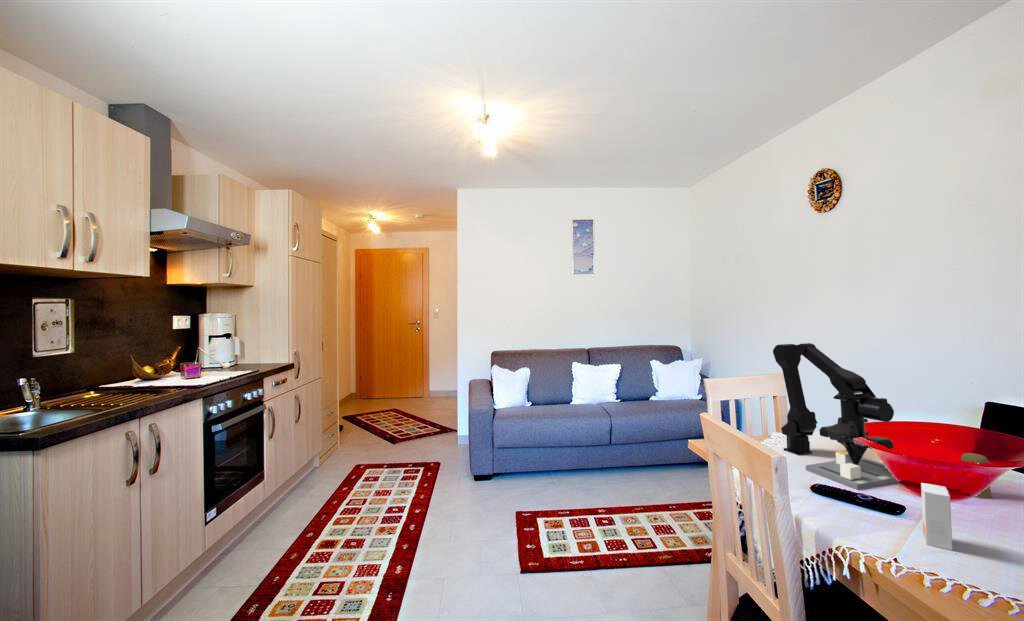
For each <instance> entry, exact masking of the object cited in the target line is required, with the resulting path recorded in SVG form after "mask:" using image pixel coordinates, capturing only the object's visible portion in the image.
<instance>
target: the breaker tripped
mask: <svg viewBox="0 0 1024 621" xmlns="http://www.w3.org/2000/svg"><path fill="white" fill-rule="evenodd" d="M835 461H836V463H837V464H847V463H852V464H853V462H852V460H851V458H850V456H849V454H848V452H847V450H846V449H845V450H838V451H835Z"/></svg>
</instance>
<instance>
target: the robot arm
mask: <svg viewBox="0 0 1024 621" xmlns="http://www.w3.org/2000/svg"><path fill="white" fill-rule="evenodd" d="M772 349H773V350H772V354H773V357H774V359H775V362H776V364H777V365H778V366H779V367H780V368H781V370H782V374H783V378H784V383H785V390H786V394H787V397H788V398H787V399H788V403H789V410H788V412H787V416H786V417H787V422H786V423H785V424H784V425H783V426H782V427H781V428H780V430H781V433H782V435H784V436H786V447H784V448H783V450H784V451H787V452H789V453H791V454H795V455H796V456H797V455H798V456H803V455H808V454H813V451H811V442H810V441H809V439H810V438H809V436H813V434H814V432H815V431H816V429H817V424H818V421H817V419H816V412H814V411H810V409H809V408H808V407H807V405H806V399H805V395H804V394H805V393H804V390H803V385H802V381H801V376H800V371H799V365H800V363H801V360H802V357H804V358H805V359H806V360H807V361H809V362H810V363H811V364H812V365H813V366H814V367H816V368H817V369H818V370H820V371H821V372H822V373H823V374H824V375H826V376H827V377H828V379H829V382H830V384H831V385H832V386H833V387H834V388H835V390H836V391H837V392H838V393H837V394H836V395H834V396H833V397H832V398H833V399H834V400H838V401H839V402H840V415H841V417H840V416H839V417H837V423H835V424H833V425H827V426H821V428H820V429H819V435H820V437H824V438H829V439H830V440H832V441H836V442H837V443H839V444H841V445H842V446H843V447H844V448H845V451H847V452H848V454H849V456H850V458H851V460H852V462H853V464H855V465H858V464H859V462H860V460H861V458H862V457H863V456H864V454H865V453H866V451H867V450H868V449H871V450H873V449H872V448H870V447H868V446H865V445H863V444H861V443H858V442H856V441H854V440H853V439H854V438H859V437H863V438H866V439H867V440H870V441H873V442H875V443H877V444H880V445H883V446H885V447H887V448H888V449H887V450H893V449H894V442H893V440H892V439H891V438H887V437H884V436H883V437H882V436H878V435H877V436H876V435H875V436H869V431H866V424H865V423H868V422H869V421H868V420H872V421H873V420H875V421H879V422H883V423H889V422H891V421H892V420H893V418H894V416H895V410H894V409H893V407H892V405H891V404H890V403H889V402H888V398H884V397H883V398H882V397H880V398H879V397H877V396H876V395H875V393H874V392H873V391H872V390H871V388H870V386H869V385H868V384H867V380H865V378H864V377H863V376H861V375H859V374H858V373H856V372H854V371H852V370H848V369H845V368H844V367H842V366H840V365H839V364H838V363H837V362H836V361H834V360H833V359H831V358H830V357H829V356H828V355H826V354H825V353H824V352H822V351H821V350H820V349H819V348H817V347H816V345H815V344H813V343H812V342H811V343H810V342H807V343H806V342H805V343H799V344H794V343H785V344H784V343H783V344H776V345H775V346H774V348H772ZM801 356H802V357H801ZM859 439H860V438H859Z"/></svg>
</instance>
